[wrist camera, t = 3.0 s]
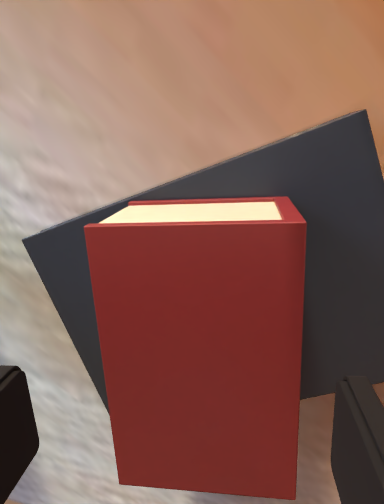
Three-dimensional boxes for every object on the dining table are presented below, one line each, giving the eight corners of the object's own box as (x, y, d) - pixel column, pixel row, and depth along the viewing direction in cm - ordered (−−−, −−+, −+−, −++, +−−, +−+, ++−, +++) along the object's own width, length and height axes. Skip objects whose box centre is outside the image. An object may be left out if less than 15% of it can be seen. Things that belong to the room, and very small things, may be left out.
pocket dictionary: (288, 196, 15) (307, 221, 10) (282, 407, 18) (295, 501, 14) (130, 200, 16) (82, 225, 12) (150, 400, 19) (118, 484, 15)
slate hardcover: (351, 112, 16) (366, 108, 14) (412, 348, 19) (431, 372, 17) (43, 230, 19) (21, 239, 18) (131, 412, 22) (120, 438, 20)
